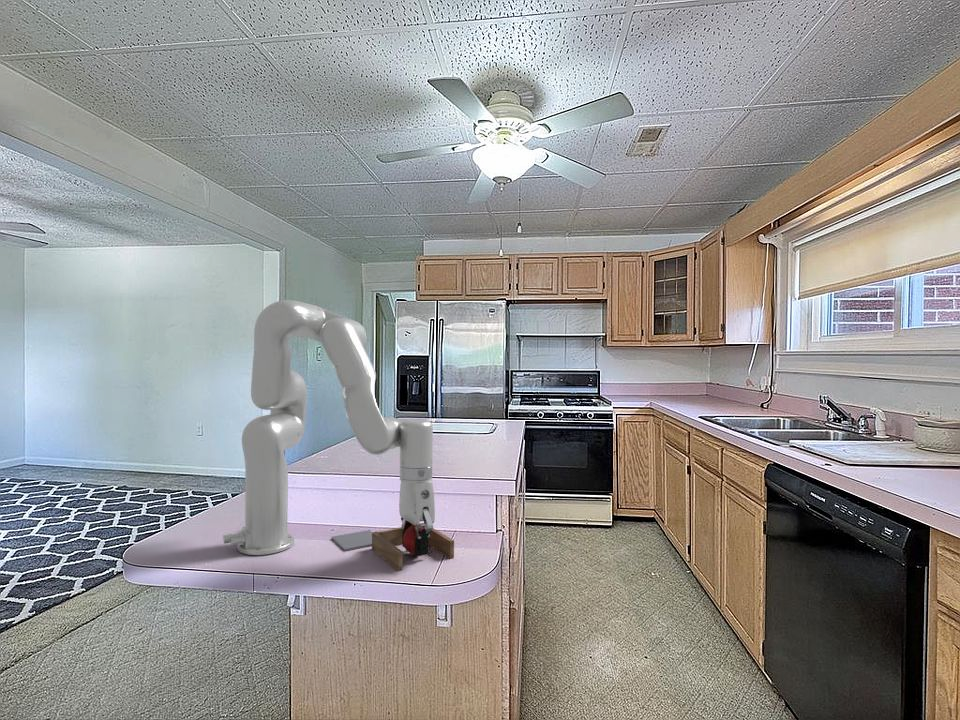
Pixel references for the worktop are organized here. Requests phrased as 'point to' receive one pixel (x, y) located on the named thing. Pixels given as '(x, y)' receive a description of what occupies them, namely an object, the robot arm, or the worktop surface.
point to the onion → (410, 539)
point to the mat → (354, 540)
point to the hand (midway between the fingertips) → (415, 549)
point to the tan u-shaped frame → (391, 538)
